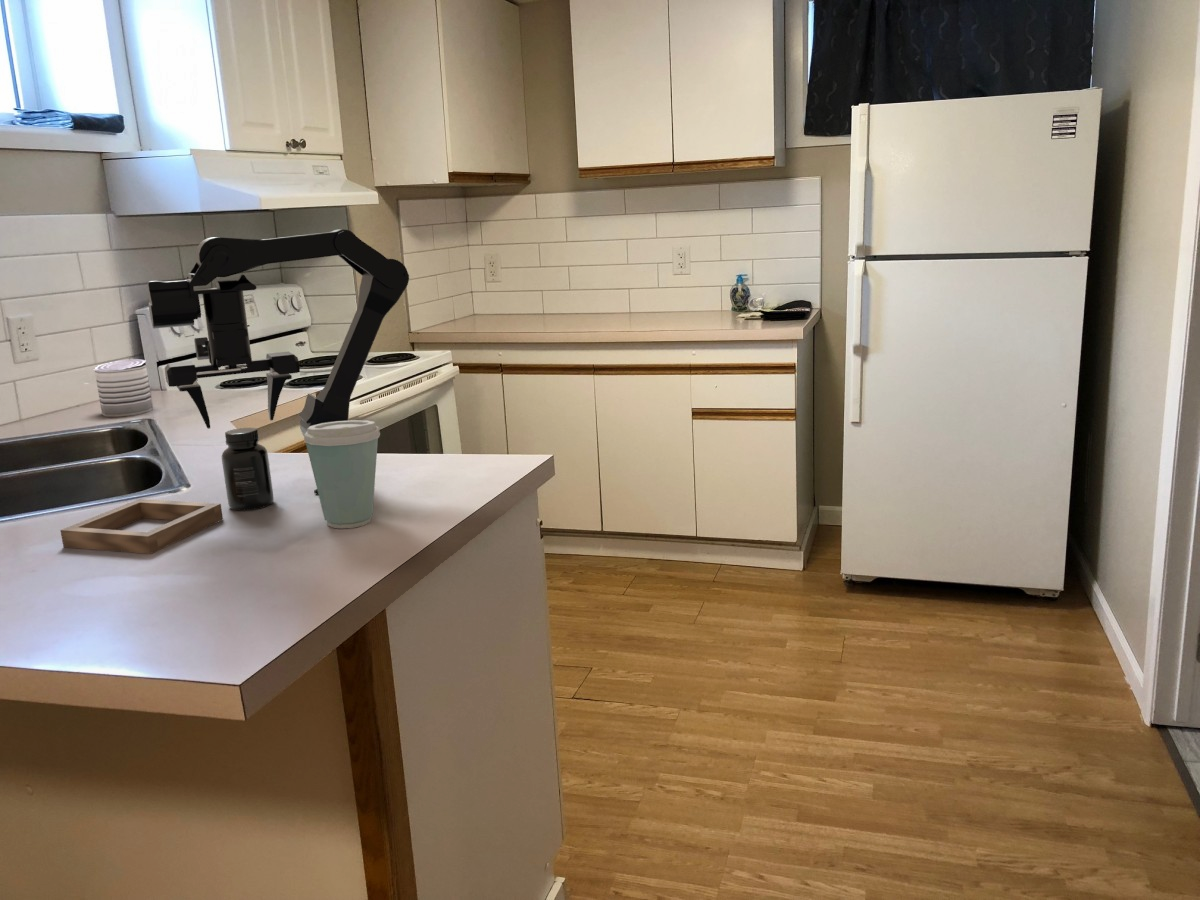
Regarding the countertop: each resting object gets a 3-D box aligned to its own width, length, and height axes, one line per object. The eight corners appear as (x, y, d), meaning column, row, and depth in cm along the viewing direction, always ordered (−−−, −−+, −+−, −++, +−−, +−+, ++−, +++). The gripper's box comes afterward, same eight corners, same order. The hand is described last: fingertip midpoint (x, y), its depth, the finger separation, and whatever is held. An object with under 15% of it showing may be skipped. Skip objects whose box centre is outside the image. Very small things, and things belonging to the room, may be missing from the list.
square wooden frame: (223, 519, 146) (220, 503, 146) (150, 553, 133) (147, 536, 132) (141, 514, 151) (139, 499, 150) (63, 547, 137) (60, 530, 136)
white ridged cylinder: (163, 409, 238) (155, 360, 235) (119, 418, 229) (111, 367, 226) (135, 405, 244) (127, 358, 241) (91, 414, 235) (83, 365, 232)
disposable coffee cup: (309, 518, 145) (297, 419, 142) (381, 506, 149) (371, 410, 146) (319, 538, 136) (306, 433, 132) (396, 525, 140) (386, 423, 136)
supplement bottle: (283, 499, 156) (274, 426, 153) (255, 512, 149) (245, 436, 146) (247, 497, 158) (237, 425, 155) (218, 510, 152) (208, 434, 149)
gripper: (281, 313, 158) (292, 408, 161) (155, 323, 149) (170, 423, 153) (294, 318, 148) (306, 419, 152) (160, 330, 140) (176, 436, 144)
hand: (240, 424), depth 150 cm, fingers open, 9 cm apart
